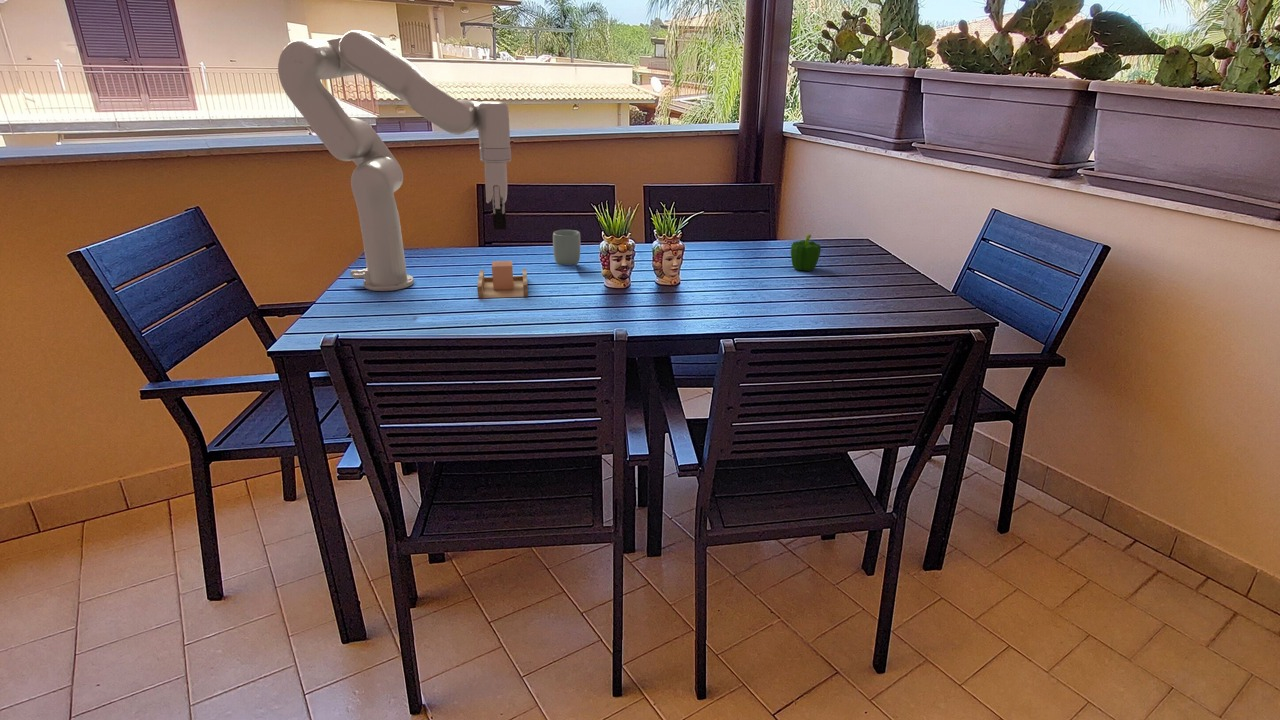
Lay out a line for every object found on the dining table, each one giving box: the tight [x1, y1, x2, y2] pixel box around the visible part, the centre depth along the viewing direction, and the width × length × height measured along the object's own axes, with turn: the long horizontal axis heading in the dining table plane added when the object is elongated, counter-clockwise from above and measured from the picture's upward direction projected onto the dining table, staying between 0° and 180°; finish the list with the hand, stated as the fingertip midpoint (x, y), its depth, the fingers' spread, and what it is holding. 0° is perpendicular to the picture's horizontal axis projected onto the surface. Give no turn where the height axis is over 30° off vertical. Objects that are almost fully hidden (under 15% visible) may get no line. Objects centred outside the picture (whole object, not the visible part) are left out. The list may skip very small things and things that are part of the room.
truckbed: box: [476, 268, 529, 299], centre depth 167 cm, size 15×12×4 cm
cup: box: [552, 229, 581, 267], centre depth 190 cm, size 8×8×10 cm
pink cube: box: [491, 260, 514, 290], centre depth 167 cm, size 5×5×6 cm
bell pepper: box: [790, 234, 821, 272], centre depth 192 cm, size 8×8×10 cm
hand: (500, 228), depth 169 cm, fingers closed
